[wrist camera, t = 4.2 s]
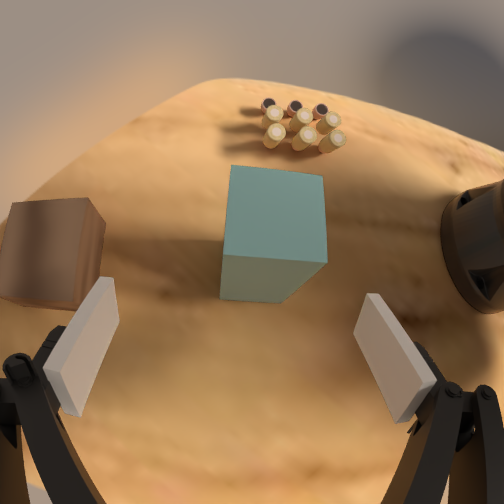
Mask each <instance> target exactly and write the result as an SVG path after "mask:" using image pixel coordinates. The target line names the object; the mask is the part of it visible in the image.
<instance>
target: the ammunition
mask: <svg viewBox="0 0 504 504" xmlns="http://www.w3.org/2000/svg"><path fill="white" fill-rule="evenodd" d="M261 110H262V111H263V113H265V114H264V117H263V119H262V126H263V127H264V128H265V129H267V131H266V133H265V135H264V137H263V144H264V145H265V146H266V147H267V148H275V147H276V146H277V145H278V144H279V143H280V142H281V141H282V139H283V138H284V137H285V135H286V130H285V128H284V127H283V126H282V125H281V124H278V123H279V121H280V120H281V118H282V117H283V110H282V108H281V107H279V106H277V105H276V101H275V100H274V99H273V98H265V99H264V100H263V102H262V104H261ZM328 111H329V110H328V107H327V106H326V105H325V104H323V103H319V104H317V105H316V106H315V108H314V109H313V111H312V112H311V111H310V110H309V109H307V108H303V105H302V103H301V102H300V101H298V100H293V101H291V102H290V104H289V105H288V107H287V114H288V115H289V116H291V117H293V118H292V119H291V121H290V123H289V125H290V128H291V129H292V130H293V131H295V132H298V133H297V134H296V135H295V136H294V138H293V139H292V143H291V146H292V148H293V149H294V150H296V151H300V150H304V149H305V148H307V147H308V146H309V145H310V144H312V143H313V142H314V141H315V140H316V138H317V133H316V131H315V130H314V129H313V128H312V127H309V126H307V125H308V124H309V123H310V122H311V121H312V120H313V118H314V119H321V120H320V121H319V122H318V123H317V125H316V129H317V131H318V132H319V133H320V134H322V135H326V134H328V133H329V132H331V131H332V130H334V129H335V128H336V127H338V126H339V125H340V124H341V118H340V116H339V115H338V114H337V113H336V112H328ZM345 143H346V136H345V134H344V133H343V132H342V131H340V130H334V131H332V132H331V133H329V134H328V135H327V136H326V137H324V138H323V139H322V140H321V141H320V143H319V146H318V149H319V151H320V152H322V153H330V152H332V151H334V150H336V149H338V148H339V147H341V146H343V145H344V144H345Z"/></svg>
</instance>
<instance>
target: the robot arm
mask: <svg viewBox="0 0 504 504" xmlns="http://www.w3.org/2000/svg"><path fill="white" fill-rule="evenodd" d="M441 241H442V248H443V253H444V257H445V261H446V264H447V267H448V270H449V272H450V275H451V277H452V279H453V281H454V283H455V285H456V287H457V289H458V290H459V292H460V293H461V295H462V296H463V297H464V298H465V300H466V301H467V302H468V303H469V304H470V305H471V306H472V307H474V308H475V309H477V310H478V311H480V312H483V313H486V314H494V313H498V312H501V311H504V179H503V180H502V181H499V182H495V183H492V184H488V185H484V186H480V187H476V188H473V189H469V190H466V191H464V192H462V193H461V194H460V195H458V196H457V197H456V198H455V199H453V200H452V201H451V202H450V203H449V204H448V205H447V207H446V209H445V211H444V214H443V217H442V223H441ZM119 322H120V319H119V313H118V307H117V300H116V293H115V285H114V278H112V277H102V276H100V277H99V279H98V280H97V282H96V283H95V284H94V286H93V287H92V289H91V290H90V292H89V293H88V295H87V296H86V298H85V299H84V301H83V302H82V304H81V305H80V307H79V308H78V310H77V311H76V313H75V315H74V316H73V318H72V319H71V321H70V322H69V324H68V326H67V327H65V326H60V325H58V326H57V327H56V328H55V329H53V330H52V331H51V332H50V333H49V335H48V336H47V338H46V341H44V342H43V344H42V347H40V349H39V350H38V352H37V354H36V355H35V357H34V359H33V360H31V358H30V357H29V356H28V355H26V354H23V353H16V354H13V355H11V356H9V357H8V358H7V359H6V360H5V362H4V364H3V371H4V373H5V375H6V377H7V378H0V504H30V500H29V494H28V489H27V483H26V476H25V469H24V461H23V451H22V439H21V425H22V429H23V432H24V435H25V438H26V441H27V444H28V447H29V449H30V452H31V455H32V458H33V460H34V463H35V465H36V468H37V470H38V473H39V475H40V477H41V480H42V482H43V484H44V486H45V489H46V491H47V493H48V495H49V497H50V499H51V501H52V503H53V504H106V502H105V501H104V499H103V498H102V496H101V495H100V493H99V491H98V490H97V488H96V487H95V485H94V483H93V481H92V480H91V478H90V476H89V475H88V473H87V471H86V469H85V467H84V466H83V464H82V462H81V460H80V458H79V456H78V454H77V452H76V450H75V448H74V446H73V444H72V442H71V440H70V438H69V436H68V434H67V432H66V429H65V427H64V425H63V423H62V420H61V418H60V416H59V414H58V410H59V408H60V405H61V407H62V409H63V411H64V413H65V414H69V415H73V416H77V417H81V415H82V413H83V410H84V407H85V404H86V402H87V399H88V396H89V394H90V391H91V389H92V386H93V383H94V381H95V378H96V376H97V373H98V371H99V368H100V366H101V364H102V361H103V359H104V356H105V354H106V352H107V349H108V347H109V345H110V342H111V340H112V338H113V335H114V333H115V331H116V329H117V326H118V324H119ZM353 335H354V337H355V339H356V341H357V343H358V345H359V347H360V349H361V351H362V353H363V355H364V357H365V359H366V361H367V363H368V365H369V367H370V370H371V372H372V374H373V376H374V378H375V380H376V382H377V384H378V387H379V389H380V391H381V393H382V395H383V398H384V400H385V402H386V404H387V406H388V409H389V411H390V413H391V415H392V418H393V420H394V422H395V424H397V423H402V422H407V421H409V420H410V419H411V418H412V416H413V415H414V413H415V414H416V416H417V418H418V419H417V420H416V421H415V423H414V424H413V425H412V427H411V428H410V429H409V431H408V432H407V433H410V432H411V430H412V432H411V435H410V437H409V440H408V443H407V445H406V448H405V451H404V453H403V456H402V458H401V460H400V463H399V465H398V468H397V470H396V472H395V475H394V477H393V479H392V481H391V483H390V486H389V488H388V490H387V492H386V494H385V496H384V498H383V500H382V502H381V504H440V502H441V499H442V496H443V493H444V490H445V486H446V483H447V479H448V476H449V495H448V504H504V427H503V422H502V417H501V412H500V407H499V403H498V398H497V395H496V393H495V391H494V390H493V389H492V388H491V387H489V386H487V385H480V386H478V387H477V389H476V390H475V391H474V392H463V390H462V388H461V387H460V386H459V385H457V384H455V383H453V382H447V381H446V380H445V378H444V377H443V375H442V374H441V372H440V371H439V369H438V368H437V366H436V365H435V363H434V362H433V360H432V359H431V357H429V354H428V353H427V351H426V350H425V348H424V347H423V346H421V345H420V344H419V343H418V342H412V340H411V339H410V338H409V336H408V335H407V333H406V332H405V330H404V329H403V327H402V326H401V324H400V323H399V321H398V320H397V319H396V317H395V316H394V314H393V313H392V311H391V310H390V309H389V307H388V306H387V304H386V303H385V302H384V300H383V299H382V297H381V296H380V295H379V294H377V293H367V294H366V297H365V300H364V303H363V306H362V309H361V312H360V315H359V318H358V321H357V323H356V326H355V329H354V332H353ZM474 428H475V432H474Z"/></svg>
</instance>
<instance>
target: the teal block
mask: <svg viewBox="0 0 504 504" xmlns="http://www.w3.org/2000/svg"><path fill="white" fill-rule="evenodd" d="M327 263H328V258H327V235H326V217H325V202H324V188H323V176H321V175H314V174H307V173H299V172H292V171H284V170H276V169H267V168H258V167H248V166H238V165H231V172H230V182H229V192H228V202H227V212H226V223H225V234H224V246H223V258H222V271H221V285H220V299H222V300H236V301H251V302H267V303H282V302H283V301H284V300H286V299H287V298H288V297H289V296H290V295H291V294H293V293H294V292H295V291H296V290H297V289H298V288H300V287H301V286H302V285H303V284H304V283H305V282H306V281H308V280H309V279H310V278H311V277H312V276H313V275H314V274H316V273H317V272H318V271H319V270H320V269H321V268H322V267H323V266H325V265H326V264H327Z"/></svg>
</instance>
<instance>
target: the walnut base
mask: <svg viewBox="0 0 504 504" xmlns="http://www.w3.org/2000/svg"><path fill="white" fill-rule="evenodd" d="M105 226H106V223H105V221H104V220H103V219H102V217H101V216H100V214H99V213H98V211H97V210H96V209H95V207H94V206H93V204H92V203H91V201H90V200H89V198H71V199H55V200H41V201H28V202H16V203H12V206H11V210H10V213H9V217H8V221H7V225H6V229H5V233H4V238H3V242H2V247H1V252H0V298H3V299H5V300H8V301H11V302H13V303H16V304H19V305H21V306H25V307H35V308H45V309H56V310H68V311H77V310H78V308H79V307H80V305H81V304H82V302H83V301H84V299H85V298H86V296H87V295H88V293H89V292H90V290H91V289H92V287H93V286H94V284H95V283H96V282H97V280H98V279H99V274H100V264H101V256H102V248H103V240H104V233H105Z"/></svg>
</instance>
